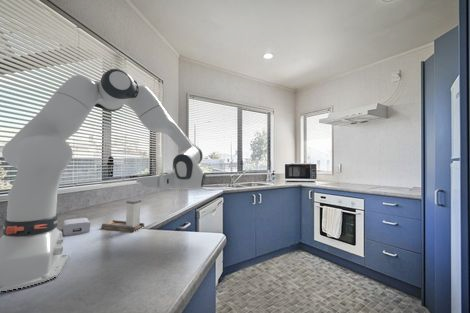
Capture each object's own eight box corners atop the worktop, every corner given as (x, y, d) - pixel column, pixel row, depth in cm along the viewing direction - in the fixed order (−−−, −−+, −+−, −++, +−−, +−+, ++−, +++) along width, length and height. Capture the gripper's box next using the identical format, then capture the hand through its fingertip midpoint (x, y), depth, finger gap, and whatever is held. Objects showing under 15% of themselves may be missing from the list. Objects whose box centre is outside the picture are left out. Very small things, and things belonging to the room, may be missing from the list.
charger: (85, 224, 110) (89, 232, 98) (62, 227, 104) (63, 236, 92) (86, 214, 110) (90, 221, 98) (62, 217, 104) (64, 224, 92)
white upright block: (140, 225, 107) (141, 200, 107) (132, 228, 102) (134, 201, 102) (132, 224, 108) (133, 199, 108) (125, 227, 103) (126, 201, 103)
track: (144, 227, 108) (144, 223, 108) (133, 232, 100) (133, 227, 100) (113, 224, 111) (114, 220, 111) (101, 228, 104) (101, 224, 104)
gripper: (179, 171, 114) (153, 171, 115) (161, 174, 93) (130, 174, 95) (179, 183, 114) (153, 183, 115) (161, 189, 93) (130, 189, 95)
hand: (142, 179), depth 105 cm, fingers open, 8 cm apart
